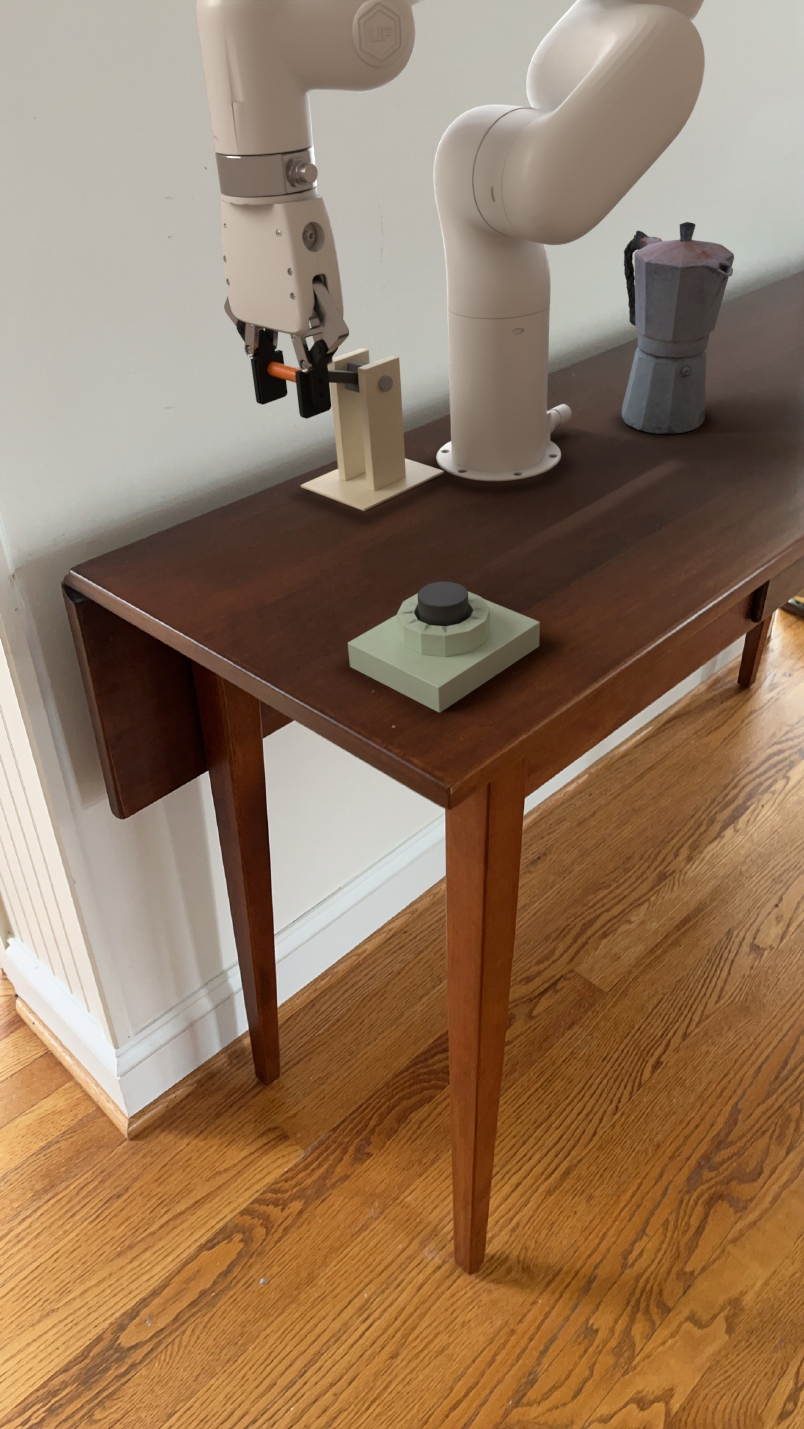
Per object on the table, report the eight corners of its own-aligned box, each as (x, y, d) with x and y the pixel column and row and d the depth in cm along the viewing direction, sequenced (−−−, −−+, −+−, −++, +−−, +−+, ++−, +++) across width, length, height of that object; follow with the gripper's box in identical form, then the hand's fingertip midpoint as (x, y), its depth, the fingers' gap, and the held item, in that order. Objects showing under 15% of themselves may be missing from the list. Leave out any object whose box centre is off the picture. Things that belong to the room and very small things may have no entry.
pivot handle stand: (365, 520, 95) (353, 384, 88) (301, 496, 101) (285, 365, 93) (444, 482, 101) (440, 351, 94) (380, 460, 107) (371, 335, 99)
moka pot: (679, 451, 104) (702, 240, 93) (578, 411, 115) (587, 217, 103) (743, 428, 108) (773, 223, 97) (640, 391, 119) (656, 202, 107)
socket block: (450, 608, 82) (448, 563, 79) (539, 647, 76) (540, 600, 74) (349, 667, 75) (345, 621, 73) (439, 714, 70) (437, 665, 68)
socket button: (442, 597, 76) (441, 576, 75) (478, 612, 74) (478, 591, 73) (408, 616, 74) (407, 595, 73) (445, 633, 72) (444, 611, 71)
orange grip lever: (303, 393, 87) (306, 364, 86) (265, 382, 90) (268, 354, 89) (392, 397, 95) (396, 370, 94) (355, 386, 98) (358, 360, 97)
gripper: (379, 176, 76) (392, 415, 87) (237, 161, 86) (264, 377, 97) (303, 192, 72) (327, 441, 83) (163, 175, 82) (201, 399, 93)
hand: (293, 404), depth 90 cm, fingers closed on orange grip lever, 5 cm apart
